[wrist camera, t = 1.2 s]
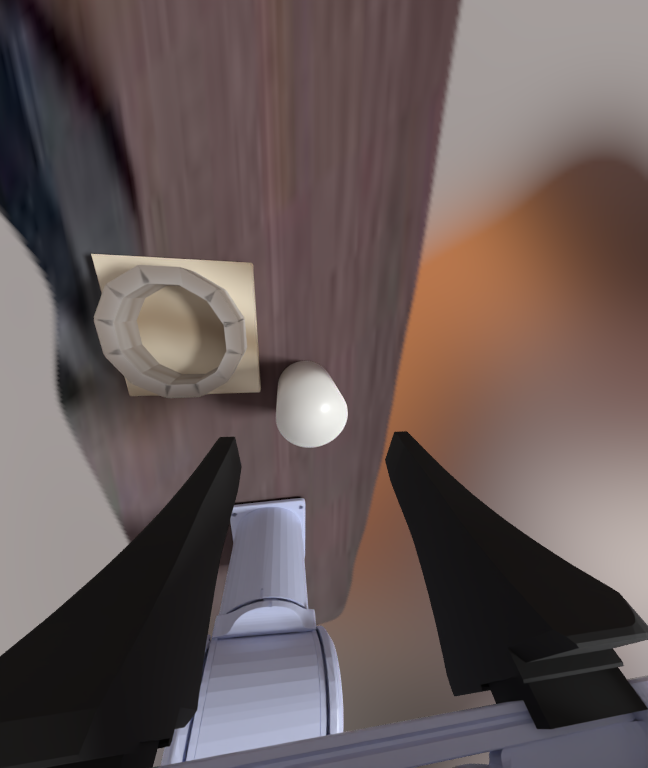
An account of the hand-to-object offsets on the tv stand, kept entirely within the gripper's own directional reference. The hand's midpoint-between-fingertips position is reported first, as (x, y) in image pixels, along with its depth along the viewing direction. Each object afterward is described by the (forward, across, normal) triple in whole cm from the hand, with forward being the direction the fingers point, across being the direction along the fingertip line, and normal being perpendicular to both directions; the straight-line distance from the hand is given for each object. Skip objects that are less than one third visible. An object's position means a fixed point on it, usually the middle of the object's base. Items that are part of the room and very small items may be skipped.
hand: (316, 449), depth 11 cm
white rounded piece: (+11, 0, +4) cm, 11 cm away
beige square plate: (+11, +9, -1) cm, 15 cm away
